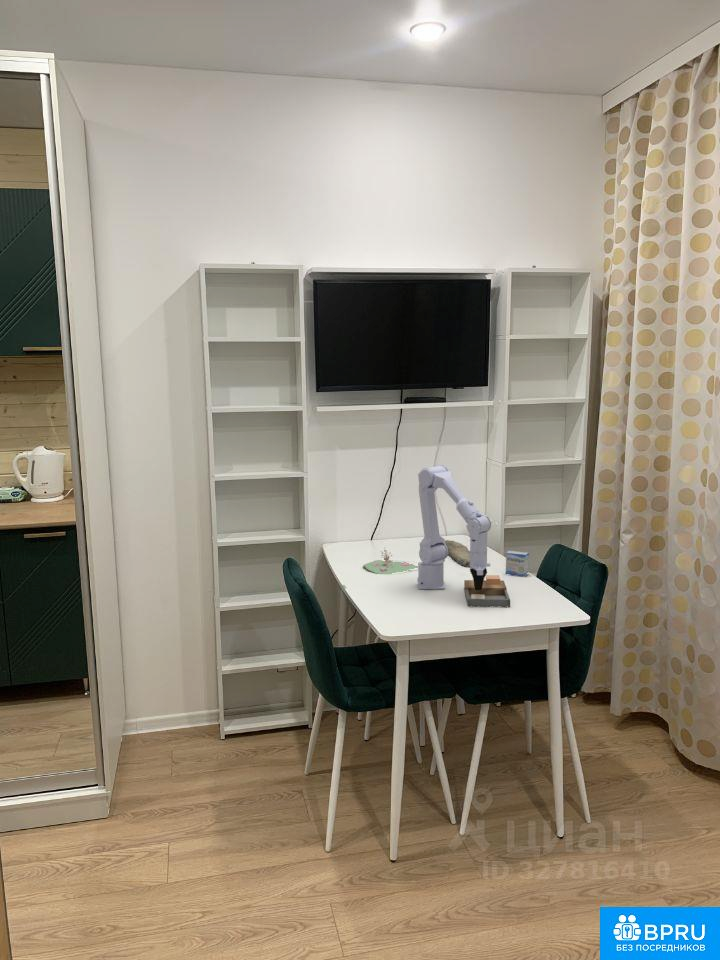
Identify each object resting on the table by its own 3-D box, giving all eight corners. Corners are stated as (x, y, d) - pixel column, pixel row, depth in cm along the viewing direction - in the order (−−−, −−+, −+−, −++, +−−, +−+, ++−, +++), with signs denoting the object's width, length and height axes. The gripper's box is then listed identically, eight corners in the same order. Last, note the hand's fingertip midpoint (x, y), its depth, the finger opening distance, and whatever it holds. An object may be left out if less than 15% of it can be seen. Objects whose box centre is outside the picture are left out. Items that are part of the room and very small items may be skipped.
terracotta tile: (487, 584, 263) (487, 578, 263) (486, 580, 268) (486, 575, 267) (500, 584, 263) (500, 579, 262) (498, 580, 267) (498, 575, 267)
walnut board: (465, 596, 260) (465, 587, 260) (464, 588, 269) (464, 580, 268) (506, 596, 259) (506, 588, 258) (503, 588, 268) (503, 580, 267)
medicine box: (505, 574, 285) (505, 552, 283) (508, 571, 289) (509, 549, 287) (525, 577, 281) (526, 554, 280) (528, 574, 285) (529, 552, 284)
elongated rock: (459, 572, 294) (483, 572, 296) (460, 559, 293) (485, 559, 295) (435, 546, 328) (457, 545, 330) (436, 534, 327) (457, 534, 328)
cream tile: (471, 594, 255) (471, 599, 255) (471, 598, 250) (471, 604, 251) (484, 594, 254) (484, 600, 255) (484, 598, 250) (484, 604, 250)
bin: (467, 606, 249) (467, 599, 249) (465, 596, 260) (465, 589, 260) (510, 607, 248) (510, 599, 248) (506, 596, 259) (506, 589, 259)
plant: (418, 559, 310) (418, 538, 308) (432, 573, 290) (432, 550, 288) (359, 563, 306) (358, 541, 304) (368, 577, 285) (368, 554, 284)
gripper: (492, 556, 246) (491, 596, 248) (488, 545, 260) (488, 583, 263) (470, 556, 247) (470, 596, 249) (468, 545, 261) (467, 583, 263)
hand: (478, 589), depth 256 cm, fingers closed
